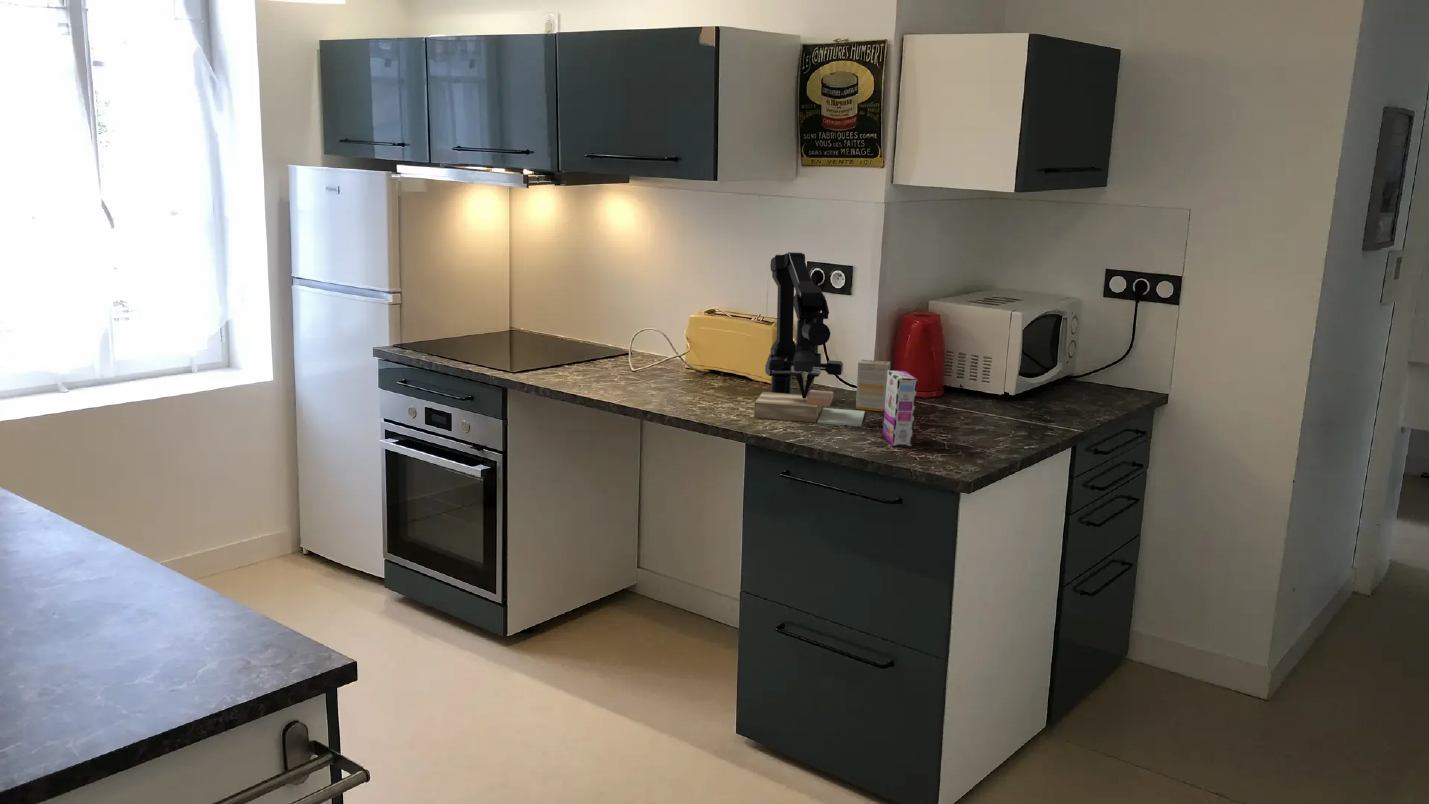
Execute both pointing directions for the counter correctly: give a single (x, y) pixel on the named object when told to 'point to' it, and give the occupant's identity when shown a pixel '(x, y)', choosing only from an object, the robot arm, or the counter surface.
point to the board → (785, 407)
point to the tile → (819, 398)
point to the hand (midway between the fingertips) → (804, 398)
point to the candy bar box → (899, 408)
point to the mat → (841, 417)
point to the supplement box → (871, 385)
